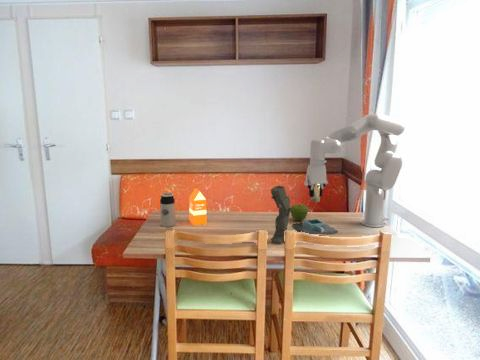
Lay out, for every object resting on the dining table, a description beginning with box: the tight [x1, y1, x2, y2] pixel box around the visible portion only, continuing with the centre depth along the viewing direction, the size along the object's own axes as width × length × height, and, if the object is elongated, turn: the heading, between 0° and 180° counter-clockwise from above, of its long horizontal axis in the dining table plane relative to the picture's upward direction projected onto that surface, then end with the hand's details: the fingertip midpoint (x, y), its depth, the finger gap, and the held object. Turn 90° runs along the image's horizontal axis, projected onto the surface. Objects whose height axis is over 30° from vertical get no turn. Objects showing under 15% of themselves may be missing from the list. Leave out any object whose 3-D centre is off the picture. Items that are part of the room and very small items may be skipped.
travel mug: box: [159, 192, 176, 228], centre depth 204 cm, size 8×8×18 cm
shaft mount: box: [291, 218, 339, 235], centre depth 198 cm, size 18×18×4 cm
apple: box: [290, 203, 309, 222], centre depth 214 cm, size 11×10×10 cm
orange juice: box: [188, 187, 208, 226], centre depth 208 cm, size 8×9×20 cm
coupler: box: [310, 184, 321, 203], centre depth 194 cm, size 4×5×10 cm
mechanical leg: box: [270, 185, 291, 245], centre depth 178 cm, size 14×7×30 cm, turn 141°
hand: (315, 195), depth 195 cm, fingers closed on coupler, 4 cm apart
